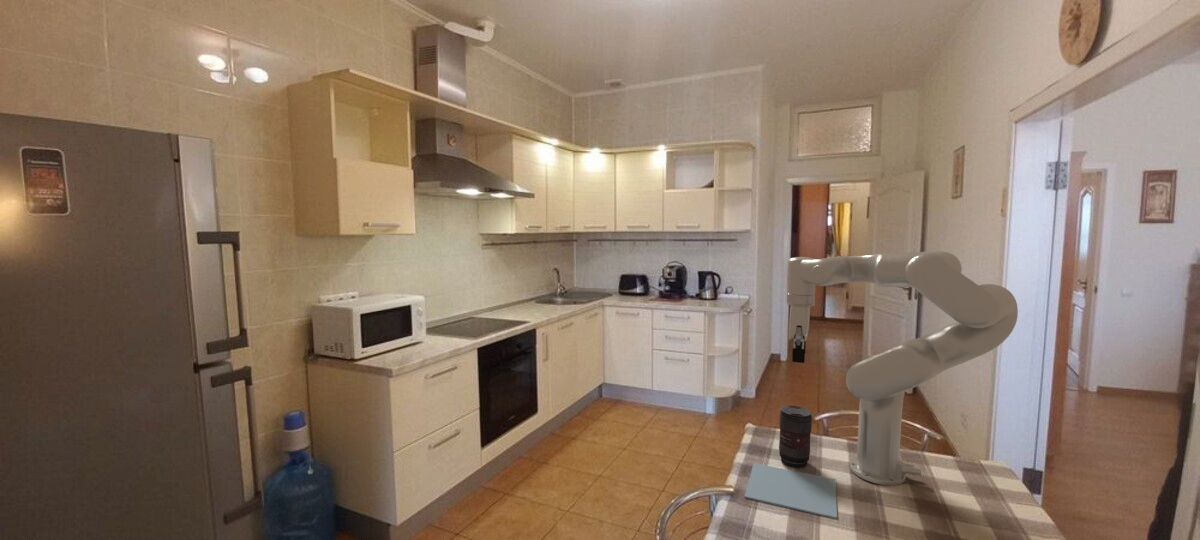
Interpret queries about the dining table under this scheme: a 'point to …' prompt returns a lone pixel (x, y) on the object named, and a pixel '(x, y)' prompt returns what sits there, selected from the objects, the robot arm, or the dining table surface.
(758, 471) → the blue mat
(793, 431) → the camera lens
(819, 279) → the robot arm
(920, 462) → the dining table surface
